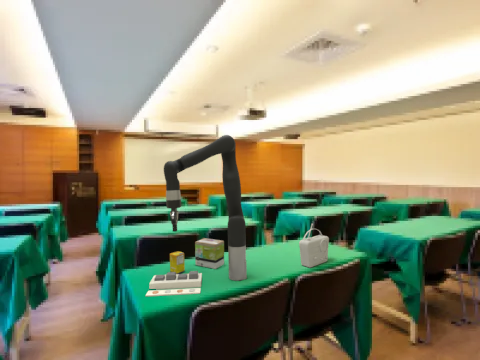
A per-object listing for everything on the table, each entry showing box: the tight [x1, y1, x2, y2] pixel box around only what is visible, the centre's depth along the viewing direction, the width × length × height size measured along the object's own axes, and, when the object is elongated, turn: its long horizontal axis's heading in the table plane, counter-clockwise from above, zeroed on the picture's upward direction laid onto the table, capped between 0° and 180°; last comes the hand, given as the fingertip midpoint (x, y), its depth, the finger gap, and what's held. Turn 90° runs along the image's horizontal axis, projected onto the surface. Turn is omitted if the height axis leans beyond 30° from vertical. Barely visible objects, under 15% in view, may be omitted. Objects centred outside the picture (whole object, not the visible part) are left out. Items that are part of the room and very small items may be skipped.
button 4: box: [155, 274, 166, 281], centre depth 137 cm, size 4×4×3 cm
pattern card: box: [145, 287, 202, 297], centre depth 128 cm, size 25×5×1 cm, turn 95°
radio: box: [298, 223, 330, 269], centre depth 164 cm, size 22×8×25 cm, turn 129°
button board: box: [148, 272, 203, 290], centre depth 138 cm, size 25×11×3 cm, turn 95°
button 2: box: [178, 273, 188, 280], centre depth 138 cm, size 4×4×3 cm
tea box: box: [194, 237, 225, 270], centre depth 165 cm, size 15×10×15 cm
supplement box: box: [169, 250, 186, 274], centre depth 154 cm, size 6×6×11 cm
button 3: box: [165, 271, 176, 280], centre depth 137 cm, size 4×4×3 cm
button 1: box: [188, 270, 199, 279], centre depth 138 cm, size 4×4×3 cm
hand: (175, 231), depth 145 cm, fingers closed
